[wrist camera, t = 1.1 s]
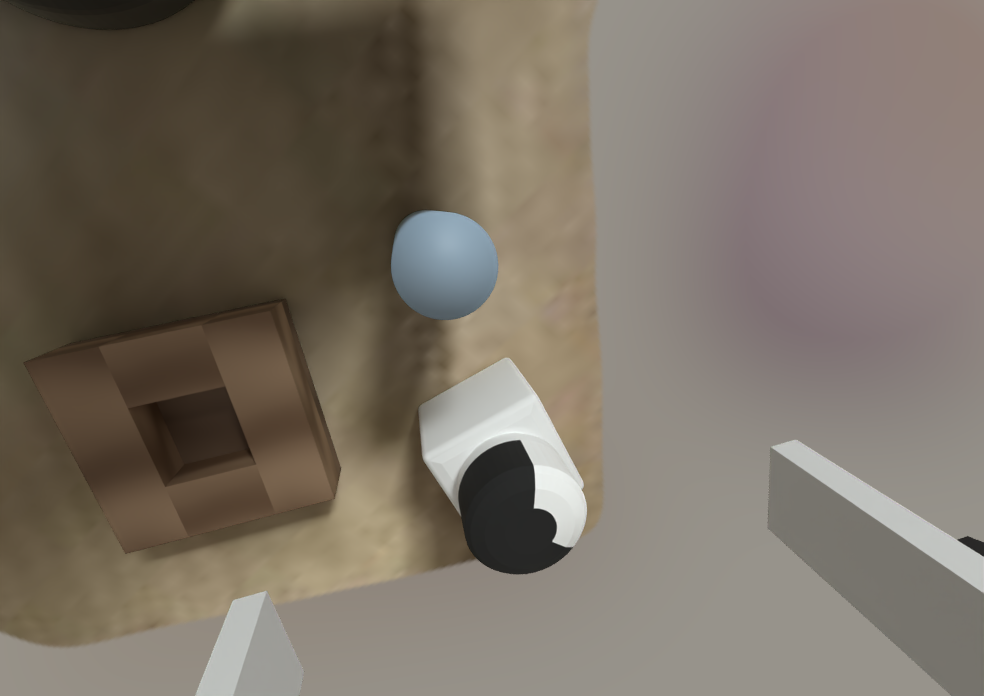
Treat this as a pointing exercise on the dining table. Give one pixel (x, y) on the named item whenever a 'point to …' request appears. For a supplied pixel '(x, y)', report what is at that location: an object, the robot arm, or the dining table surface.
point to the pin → (443, 264)
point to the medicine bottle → (504, 470)
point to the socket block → (192, 423)
